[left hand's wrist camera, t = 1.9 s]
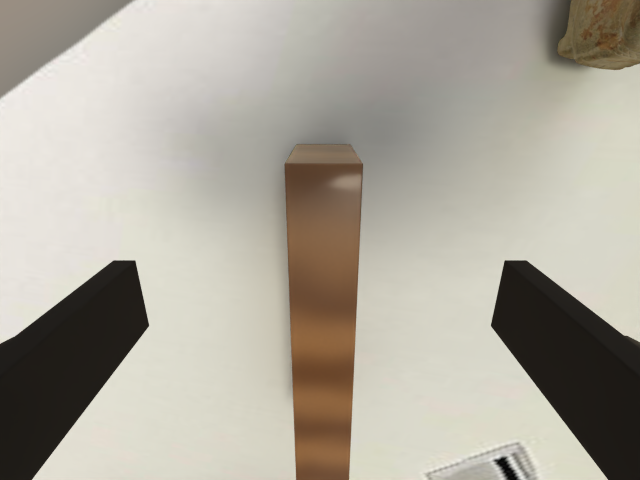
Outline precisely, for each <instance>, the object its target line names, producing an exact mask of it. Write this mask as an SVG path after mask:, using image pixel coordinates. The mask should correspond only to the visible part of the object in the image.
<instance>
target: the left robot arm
mask: <svg viewBox="0 0 640 480" xmlns="http://www.w3.org/2000/svg"><path fill="white" fill-rule="evenodd" d="M148 327H149V323H148V318H147V314H146V309H145V304H144V300H143V295H142V290H141V285H140V281H139V276H138V271H137V267H136V262H135V261H112V262H111V263H110V264H109V265H107V266H106V267H105V268H103V269H102V270H101V271H99V272H98V273H97V274H96V275H94V276H93V277H92V278H90V279H89V280H88V281H86V282H85V283H84V284H83V285H81V286H80V287H79V288H77V289H76V290H75V291H73V292H72V293H71V294H70V295H68V296H67V297H66V298H64V299H63V300H62V301H60V302H59V303H58V304H57V305H55V306H54V307H53V308H51V309H50V310H49V311H47V312H46V313H45V314H44V315H42V316H41V317H40V318H38V319H37V320H36V321H34V322H33V323H32V324H31V325H29V326H28V327H27V328H25V329H24V330H23V331H22V332H20V333H19V334H18V335H16V336H15V337H13V338H11V339H9V340H7V341H5V342H3V343H1V344H0V480H32V479H33V477H34V476H35V475H36V473H37V472H38V471H39V470H40V468H41V467H42V466H43V464H44V463H45V462H46V460H47V459H48V458H49V456H50V455H51V454H52V452H53V451H54V450H55V449H56V447H57V446H58V445H59V443H60V442H61V441H62V439H63V438H64V437H65V435H66V434H67V433H68V431H69V430H70V429H71V428H72V426H73V425H74V424H75V422H76V421H77V420H78V418H79V417H80V416H81V414H82V413H83V412H84V411H85V409H86V408H87V407H88V405H89V404H90V403H91V401H92V400H93V399H94V397H95V396H96V395H97V393H98V392H99V391H100V390H101V388H102V387H103V386H104V384H105V383H106V382H107V380H108V379H109V378H110V376H111V375H112V374H113V372H114V371H115V370H116V369H117V367H118V366H119V365H120V363H121V362H122V361H123V359H124V358H125V357H126V355H127V354H128V353H129V352H130V350H131V349H132V348H133V346H134V345H135V344H136V342H137V341H138V340H139V338H140V337H141V336H142V334H143V333H144V332H145V331H146V329H147V328H148ZM491 327H492V328H493V329H494V331H495V332H496V333H497V334H498V336H499V337H500V338H501V340H502V341H503V342H504V344H505V345H506V346H507V348H508V349H509V350H510V352H511V353H512V354H513V355H514V357H515V358H516V359H517V361H518V362H519V363H520V365H521V366H522V367H523V369H524V370H525V371H526V372H527V374H528V375H529V376H530V378H531V379H532V380H533V382H534V383H535V384H536V386H537V387H538V388H539V390H540V391H541V392H542V393H543V395H544V396H545V397H546V399H547V400H548V401H549V403H550V404H551V405H552V407H553V408H554V409H555V411H556V412H557V413H558V414H559V416H560V417H561V418H562V420H563V421H564V422H565V424H566V425H567V426H568V428H569V429H570V430H571V431H572V433H573V434H574V435H575V437H576V438H577V439H578V441H579V442H580V443H581V445H582V446H583V447H584V449H585V450H586V451H587V452H588V454H589V455H590V456H591V458H592V459H593V460H594V462H595V463H596V464H597V466H598V467H599V468H600V470H601V471H602V472H603V473H604V475H605V476H606V477H607V479H608V480H640V342H638V341H636V340H634V339H632V338H630V337H628V336H624V335H622V334H621V333H620V332H618V331H617V330H616V329H615V328H613V327H612V326H611V325H609V324H608V323H607V322H606V321H604V320H603V319H602V318H600V317H599V316H598V315H596V314H595V313H594V312H593V311H591V310H590V309H589V308H587V307H586V306H585V305H583V304H582V303H581V302H580V301H578V300H577V299H576V298H574V297H573V296H572V295H570V294H569V293H568V292H567V291H565V290H564V289H563V288H561V287H560V286H559V285H557V284H556V283H555V282H554V281H552V280H551V279H550V278H548V277H547V276H546V275H544V274H543V273H542V272H541V271H539V270H538V269H537V268H535V267H534V266H533V265H531V264H530V263H529V262H528V261H505V262H504V267H503V271H502V276H501V281H500V285H499V290H498V295H497V300H496V304H495V309H494V314H493V318H492V323H491Z"/></svg>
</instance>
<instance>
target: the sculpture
mask: <svg viewBox="0 0 640 480" xmlns="http://www.w3.org/2000/svg"><path fill="white" fill-rule="evenodd" d="M557 51H558V54H559V55H560V56H563V57H565V58H569V59H575V61H576V62H577V63H578V64H581V65H585V66H589V67H594V68H600V69H610V70H620V69H623V68H625V67H631V66H633V65H636V64H639V63H640V0H571V4H570V12H569V21H568V28H567V31H566V34H565V36H564V37H563V38H562V39H561V40H560V41H559V43H558V48H557Z"/></svg>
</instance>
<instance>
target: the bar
mask: <svg viewBox="0 0 640 480" xmlns="http://www.w3.org/2000/svg"><path fill="white" fill-rule="evenodd" d="M362 175H363V163H362V162H361V160H360V159H359V157H358V156H357V154H356V153H355V151H354V149H353V148H352V146H351V145H350V144H297V145H296V146H295V148H294V149H293V151H292V153H291V154H290V156H289V158H288V159H287V161H286V163H285V187H286V214H287V242H288V269H289V296H290V324H291V351H292V378H293V406H294V433H295V460H296V480H349V467H350V444H351V422H352V399H353V377H354V354H355V332H356V310H357V287H358V265H359V242H360V220H361V197H362Z"/></svg>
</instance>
